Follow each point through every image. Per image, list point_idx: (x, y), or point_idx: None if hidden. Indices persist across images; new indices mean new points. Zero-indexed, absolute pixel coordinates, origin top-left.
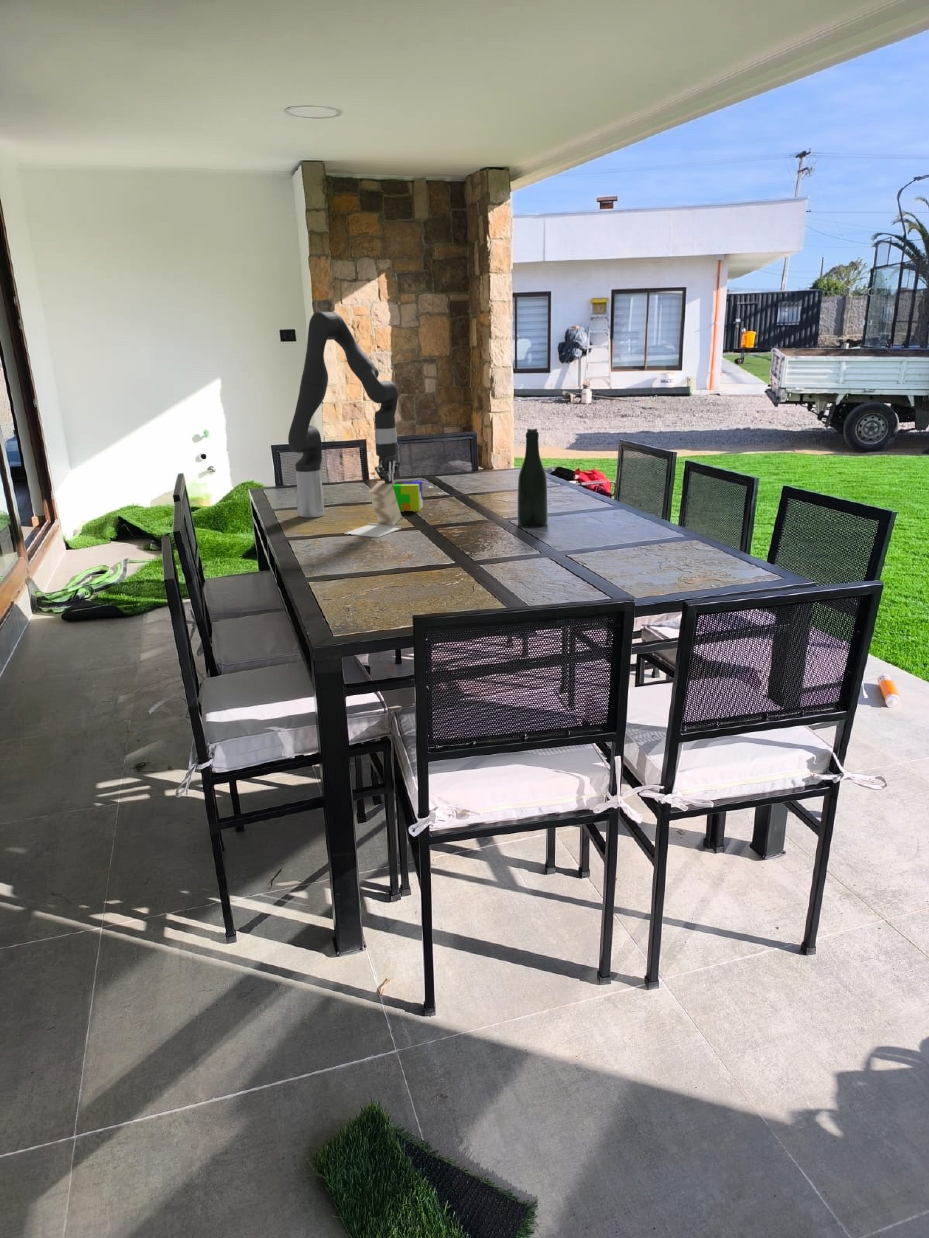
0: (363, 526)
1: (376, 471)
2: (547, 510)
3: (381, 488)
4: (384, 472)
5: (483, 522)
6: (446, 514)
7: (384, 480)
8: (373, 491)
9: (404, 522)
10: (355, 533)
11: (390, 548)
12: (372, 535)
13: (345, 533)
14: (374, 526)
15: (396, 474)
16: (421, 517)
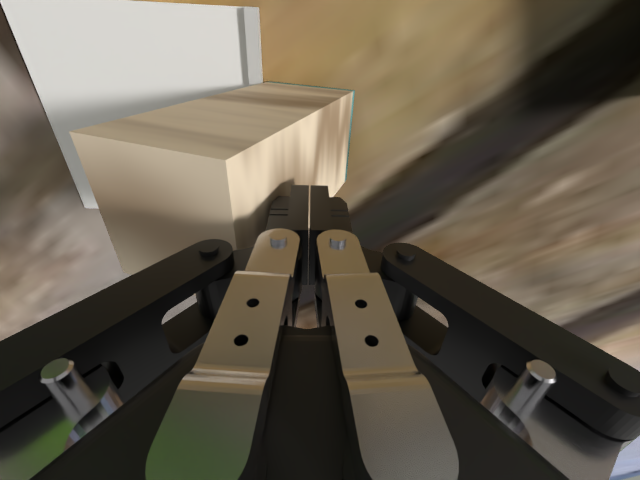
0: (194, 4)
1: (20, 340)
2: None
3: (159, 242)
4: (144, 384)
5: None
6: (558, 241)
7: (251, 252)
8: (96, 181)
9: (379, 159)
10: (44, 71)
11: (19, 309)
12: (81, 176)
13: (1, 4)
14: (227, 75)
15: (423, 327)
16: (496, 178)
